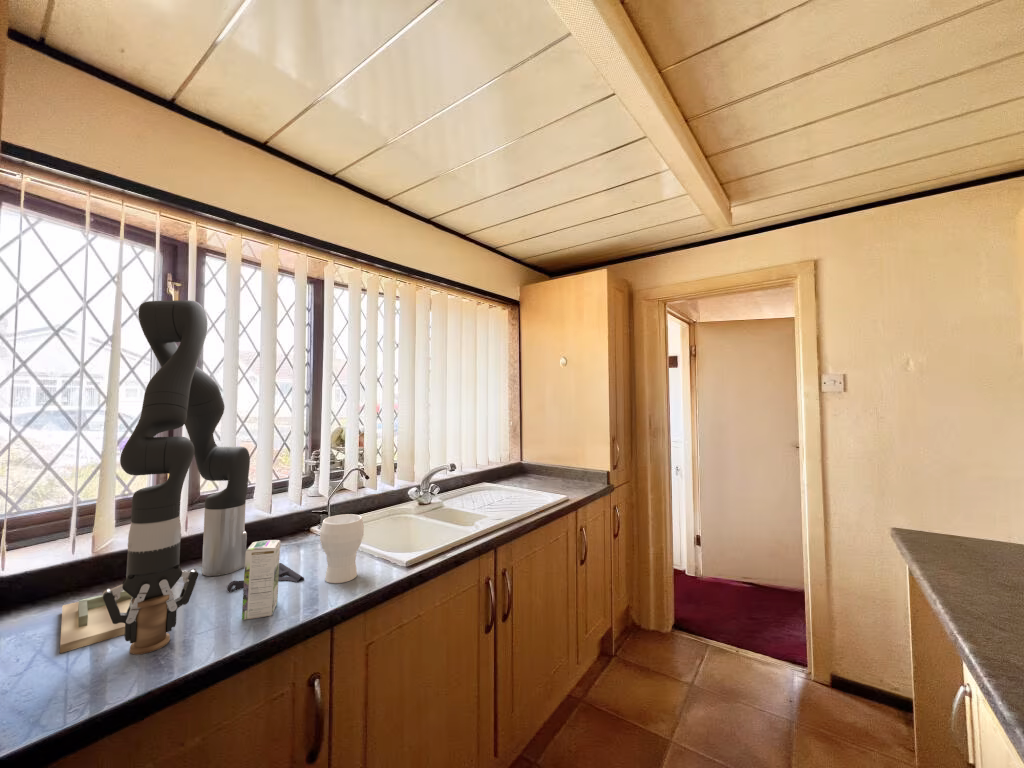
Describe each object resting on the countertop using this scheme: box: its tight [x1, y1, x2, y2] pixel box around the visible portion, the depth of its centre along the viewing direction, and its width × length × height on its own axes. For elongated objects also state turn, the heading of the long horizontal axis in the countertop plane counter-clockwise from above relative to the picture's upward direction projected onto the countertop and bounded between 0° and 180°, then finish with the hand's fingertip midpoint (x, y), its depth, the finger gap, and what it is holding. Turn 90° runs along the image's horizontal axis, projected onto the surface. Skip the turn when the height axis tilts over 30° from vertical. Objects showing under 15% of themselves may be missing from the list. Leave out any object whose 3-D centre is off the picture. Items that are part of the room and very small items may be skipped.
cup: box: [319, 513, 365, 584], centre depth 107 cm, size 11×11×15 cm
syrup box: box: [241, 539, 281, 621], centre depth 89 cm, size 6×6×14 cm
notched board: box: [59, 590, 132, 654], centre depth 87 cm, size 15×21×4 cm
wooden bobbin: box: [129, 595, 171, 655], centre depth 77 cm, size 6×6×9 cm
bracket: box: [226, 562, 305, 593], centre depth 104 cm, size 14×15×3 cm
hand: (150, 635), depth 77 cm, fingers closed on wooden bobbin, 4 cm apart
